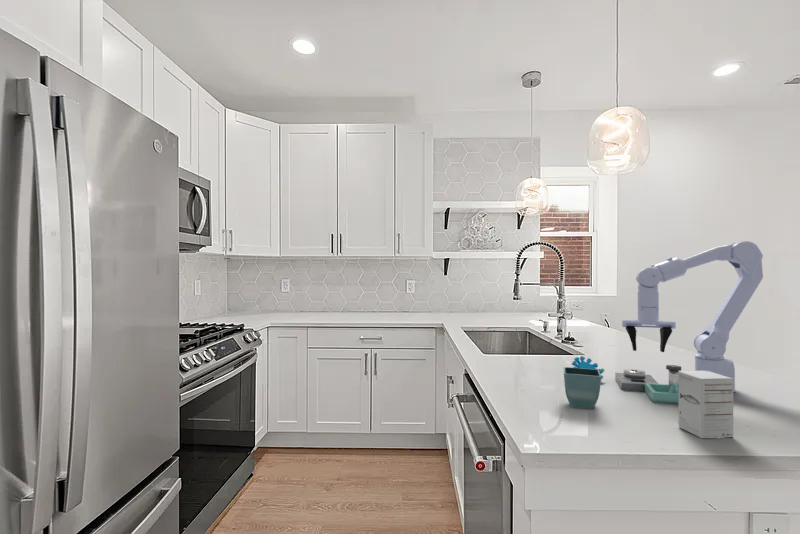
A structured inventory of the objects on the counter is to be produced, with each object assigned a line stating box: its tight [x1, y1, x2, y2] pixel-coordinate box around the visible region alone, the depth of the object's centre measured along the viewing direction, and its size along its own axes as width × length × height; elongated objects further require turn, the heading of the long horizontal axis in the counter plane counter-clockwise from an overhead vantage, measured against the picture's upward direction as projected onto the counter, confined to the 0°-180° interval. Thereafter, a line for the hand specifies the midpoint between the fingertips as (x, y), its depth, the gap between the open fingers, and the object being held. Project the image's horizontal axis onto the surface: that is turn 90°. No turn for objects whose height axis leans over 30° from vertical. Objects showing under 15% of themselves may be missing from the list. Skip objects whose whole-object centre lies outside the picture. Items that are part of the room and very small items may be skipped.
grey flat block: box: [614, 368, 659, 392], centre depth 142 cm, size 10×14×4 cm
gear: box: [571, 355, 605, 380], centre depth 147 cm, size 11×6×10 cm
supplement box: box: [678, 370, 734, 439], centre depth 100 cm, size 7×7×13 cm
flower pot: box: [563, 366, 602, 410], centre depth 120 cm, size 9×9×9 cm
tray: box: [644, 383, 679, 405], centre depth 127 cm, size 14×11×2 cm
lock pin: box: [665, 364, 682, 393], centre depth 127 cm, size 4×4×8 cm
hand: (648, 351), depth 144 cm, fingers open, 7 cm apart
